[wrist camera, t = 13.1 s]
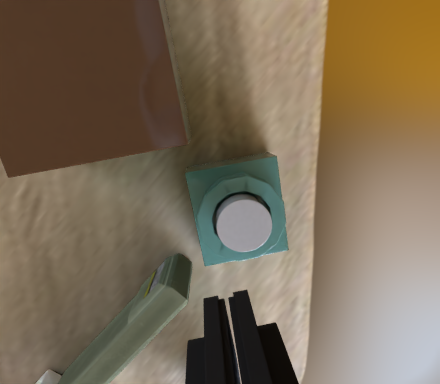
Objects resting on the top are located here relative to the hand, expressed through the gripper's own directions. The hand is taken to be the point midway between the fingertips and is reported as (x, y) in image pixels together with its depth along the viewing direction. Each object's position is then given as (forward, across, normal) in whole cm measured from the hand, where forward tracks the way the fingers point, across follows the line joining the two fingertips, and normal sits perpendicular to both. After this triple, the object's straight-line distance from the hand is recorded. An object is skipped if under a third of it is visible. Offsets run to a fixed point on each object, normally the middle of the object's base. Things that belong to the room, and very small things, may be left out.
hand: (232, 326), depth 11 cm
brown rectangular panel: (+10, +7, -13) cm, 18 cm away
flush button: (+13, -2, +1) cm, 14 cm away
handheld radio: (+18, +14, +13) cm, 27 cm away
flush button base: (+18, -2, +1) cm, 18 cm away
